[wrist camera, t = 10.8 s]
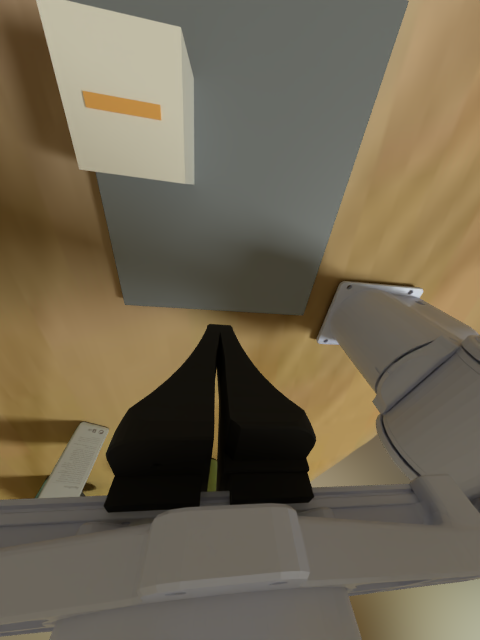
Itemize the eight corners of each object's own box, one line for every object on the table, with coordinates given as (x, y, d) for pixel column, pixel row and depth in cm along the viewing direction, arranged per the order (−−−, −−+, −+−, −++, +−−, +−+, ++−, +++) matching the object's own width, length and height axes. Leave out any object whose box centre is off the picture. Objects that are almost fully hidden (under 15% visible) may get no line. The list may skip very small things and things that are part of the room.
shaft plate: (395, 14, 12) (470, -60, 8) (299, 310, 22) (314, 333, 19) (50, -82, 9) (-52, -243, 6) (128, 299, 20) (109, 323, 17)
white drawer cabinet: (193, 78, 12) (180, 25, 8) (194, 184, 15) (184, 183, 11) (97, 58, 11) (32, -9, 7) (117, 174, 14) (78, 169, 10)
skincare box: (80, 420, 30) (10, 536, 20) (112, 427, 32) (61, 538, 22) (70, 438, 33) (4, 550, 23) (100, 445, 34) (50, 551, 24)
